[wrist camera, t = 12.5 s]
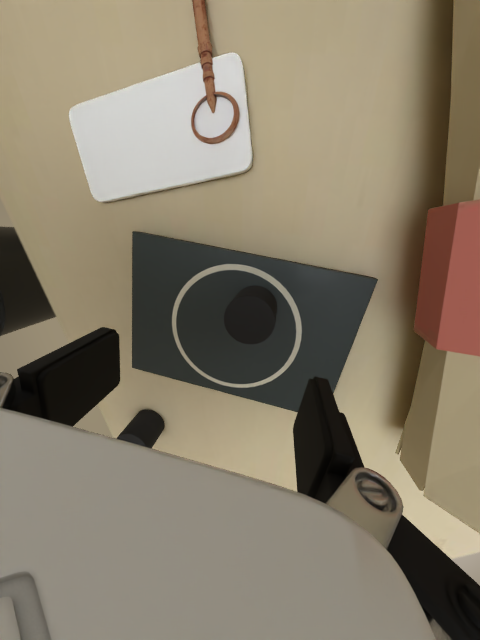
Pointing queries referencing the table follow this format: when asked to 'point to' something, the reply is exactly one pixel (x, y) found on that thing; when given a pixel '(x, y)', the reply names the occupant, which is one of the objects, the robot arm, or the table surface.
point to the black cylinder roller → (143, 429)
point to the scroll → (452, 304)
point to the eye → (251, 315)
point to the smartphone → (163, 133)
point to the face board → (209, 329)
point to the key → (209, 75)
